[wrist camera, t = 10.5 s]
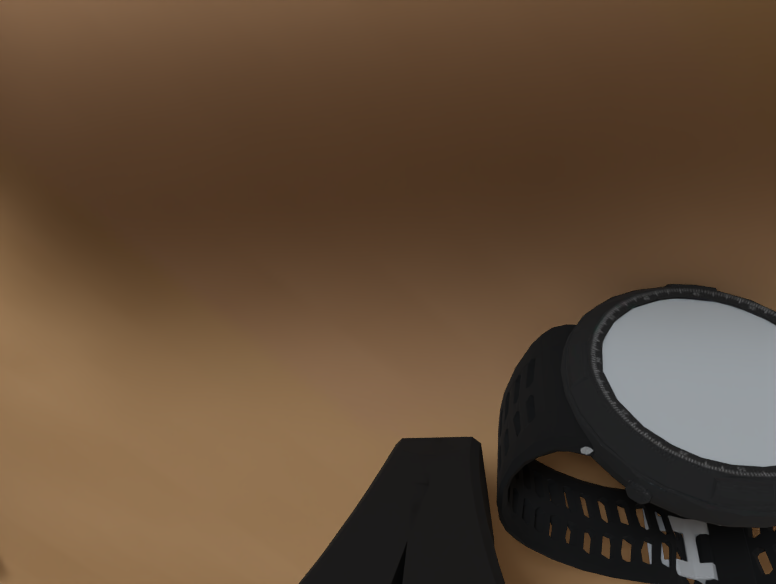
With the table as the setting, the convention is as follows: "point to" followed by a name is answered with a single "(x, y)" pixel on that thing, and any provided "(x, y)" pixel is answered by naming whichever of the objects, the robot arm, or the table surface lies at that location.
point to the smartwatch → (649, 437)
